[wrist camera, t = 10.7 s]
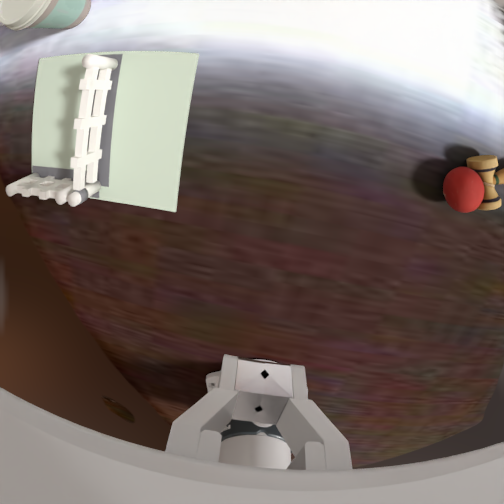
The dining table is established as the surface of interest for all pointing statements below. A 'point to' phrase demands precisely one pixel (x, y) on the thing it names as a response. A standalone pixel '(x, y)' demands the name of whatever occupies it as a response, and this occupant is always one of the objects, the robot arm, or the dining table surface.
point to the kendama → (474, 185)
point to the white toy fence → (87, 121)
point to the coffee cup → (43, 13)
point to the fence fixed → (43, 187)
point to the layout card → (119, 124)
